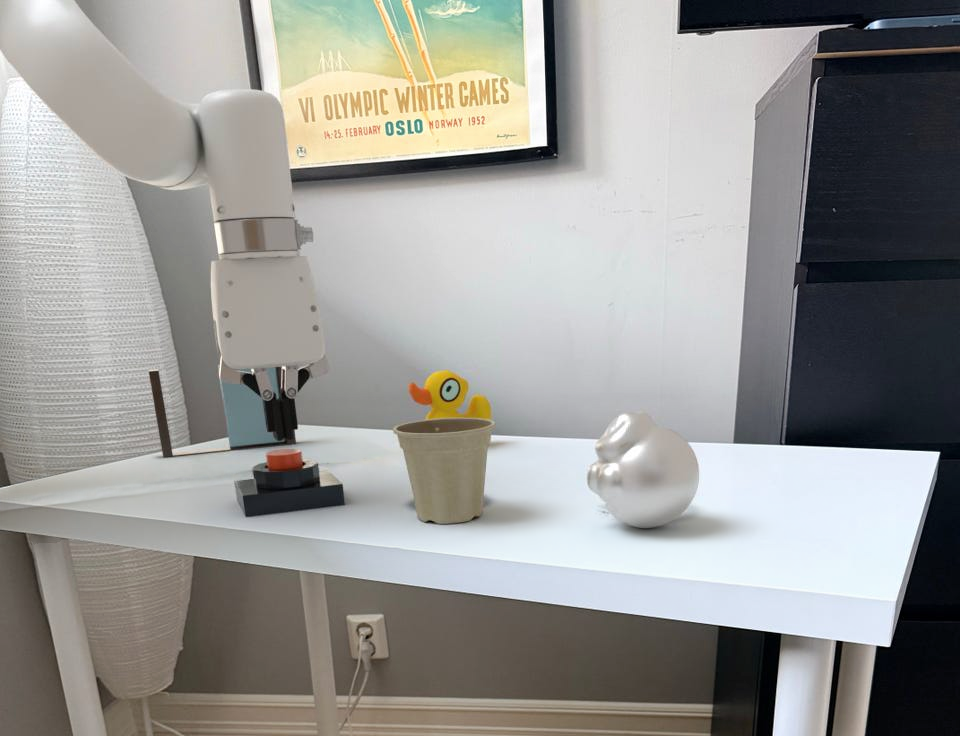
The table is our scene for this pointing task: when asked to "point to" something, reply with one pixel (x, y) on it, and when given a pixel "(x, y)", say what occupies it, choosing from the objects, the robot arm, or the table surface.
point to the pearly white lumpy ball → (643, 471)
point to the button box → (288, 490)
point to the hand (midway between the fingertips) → (283, 438)
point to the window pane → (247, 412)
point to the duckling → (449, 397)
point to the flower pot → (446, 466)
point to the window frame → (164, 425)
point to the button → (284, 459)
